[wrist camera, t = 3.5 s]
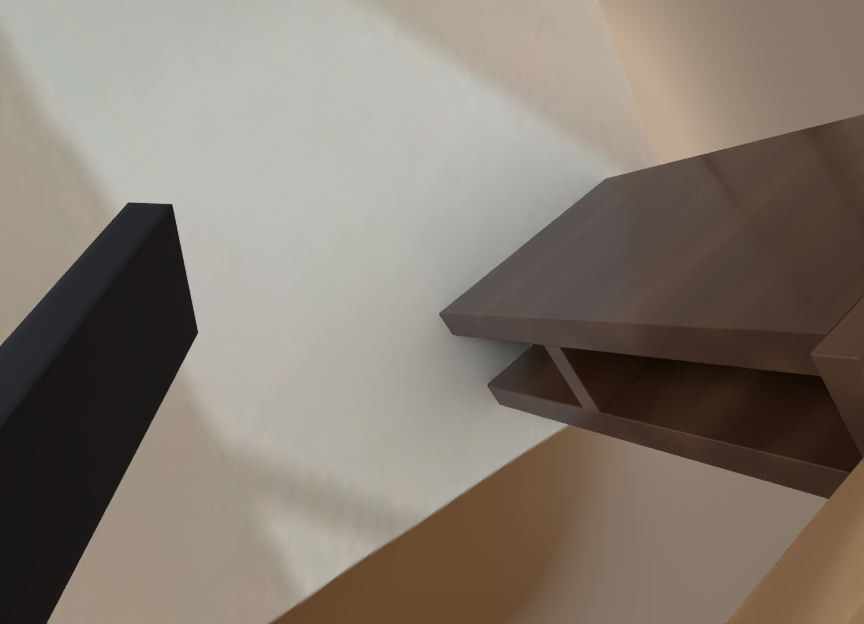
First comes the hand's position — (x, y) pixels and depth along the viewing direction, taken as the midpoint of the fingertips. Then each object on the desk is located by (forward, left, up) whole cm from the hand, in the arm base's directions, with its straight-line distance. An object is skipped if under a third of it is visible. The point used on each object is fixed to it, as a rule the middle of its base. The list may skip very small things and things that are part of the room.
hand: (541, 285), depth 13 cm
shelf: (+12, +17, -32) cm, 39 cm away
